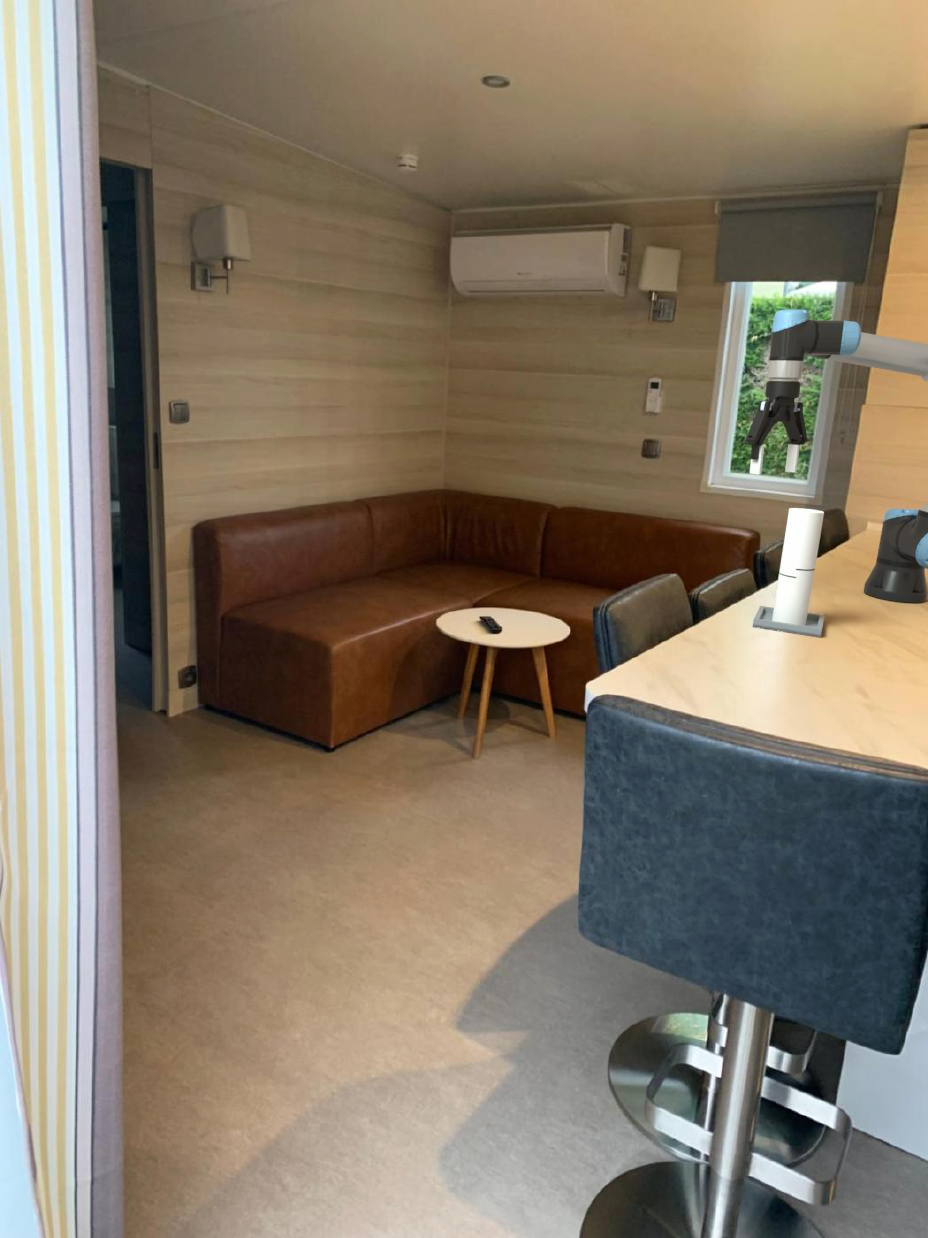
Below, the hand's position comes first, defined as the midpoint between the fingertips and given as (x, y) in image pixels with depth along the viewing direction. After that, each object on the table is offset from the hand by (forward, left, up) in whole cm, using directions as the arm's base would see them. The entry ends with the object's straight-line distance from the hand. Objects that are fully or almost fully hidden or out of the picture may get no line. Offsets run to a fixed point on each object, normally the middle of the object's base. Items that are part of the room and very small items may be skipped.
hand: (773, 473), depth 211 cm
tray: (-9, +20, -31) cm, 38 cm away
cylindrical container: (-9, +20, -31) cm, 38 cm away
